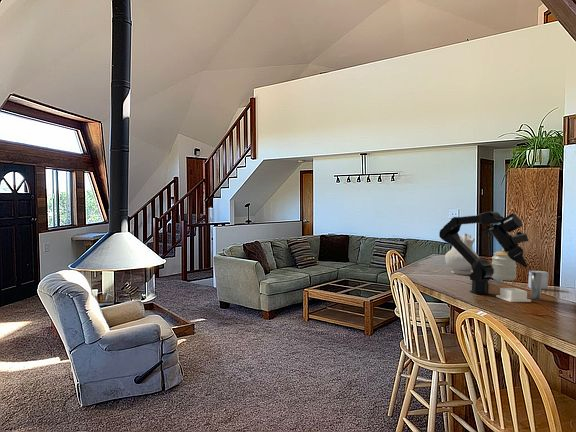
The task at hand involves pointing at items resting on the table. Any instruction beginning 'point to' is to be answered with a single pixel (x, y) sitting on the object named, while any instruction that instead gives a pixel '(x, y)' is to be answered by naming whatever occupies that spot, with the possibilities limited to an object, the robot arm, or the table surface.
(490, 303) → the table surface
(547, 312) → the table surface
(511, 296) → the socket
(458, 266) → the ceramic pitcher
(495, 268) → the jar
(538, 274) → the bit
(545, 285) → the medicine box
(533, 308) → the table surface
